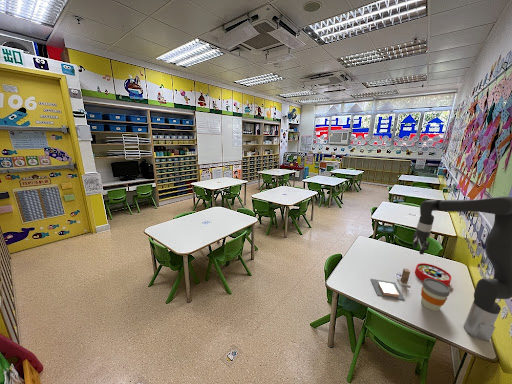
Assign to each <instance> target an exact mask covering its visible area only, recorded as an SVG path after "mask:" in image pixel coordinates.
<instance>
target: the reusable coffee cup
mask: <svg viewBox="0 0 512 384" xmlns="http://www.w3.org/2000/svg"><path fill="white" fill-rule="evenodd" d="M421 285H422V287H421V293H420V296H421V298H420V299H421V300H420V301H421V302H420V303H421V304H422V306H424V307H425V308H427V309H429V311H433V312H439V310H440V309H441V307H442V306H444V304H445V303H446V301H447V299H448V297H449V296H450V293H451V290H450V287H449V286H446V285H445V284H444V283H442V282H440V281H437V280H434V279H429V278H428V279H425V280H424V281H422V284H421Z"/></svg>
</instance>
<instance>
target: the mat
mask: <svg viewBox="0 0 512 384" xmlns="http://www.w3.org/2000/svg"><path fill="white" fill-rule="evenodd" d="M370 282H371V284H372V286H373V288H374V290H375V293H376V295H377V296H378V297H385V298H389V299H395V300H400V301H405V300H406V299H405V298H404V294H402V292H401V290H400V288H399V287H398V285H397V284H396V282H393V281H387V280H383V279H382V280H381V279H374V278H370ZM379 282H383V283H389V284H393V285H394V286H395V288H396V290H397V292H398V294H399V297H394V296H388V295H383V293H382V291H381V289H380V287H379V285H378V283H379Z"/></svg>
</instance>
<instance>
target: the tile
mask: <svg viewBox="0 0 512 384" xmlns="http://www.w3.org/2000/svg"><path fill="white" fill-rule="evenodd" d="M378 285H379V287H380V289H381V291H382V293H383V295H388V296H394V297H399V294H398V292H397V290H396V288H395V286H394V285H393V284H389V283H383V282H379V283H378Z"/></svg>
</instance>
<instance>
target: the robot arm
mask: <svg viewBox="0 0 512 384" xmlns="http://www.w3.org/2000/svg"><path fill="white" fill-rule="evenodd" d="M434 211H435V212H436V211H441V212H448V213H449V212H453V213H456V212H457V213H458V212H459V213H460V212H463V213H465V212H476V213H485V214H491V215H494V221H493V226H492V227H491V229H490V231H489V233H488V235H487V237H486V243H485V254H486V255H487V256H486V257H488V259H489V261H490V263H491V264H492V267H493V278H480V279H479V280H478V281H477V283H476V286H475V289H474V291H473V301H472V304H471V307H470V309H469V311H468V314H467V317H466V319H465V322H464V323H463V329H464V330H465V331H466V332H467V333H468V334H469V335H471V336H472V337H473V338H474V339H477V340H480V341H481V340H482V341H487V342H490V340H491V339H492V336H493V334H494V331H495V329H496V326H495V323H496V322H497V319H498V317H499V315H500V313H501V310H502V309H501V306H500V305H499V303H498V302H496V300H509V299H511V298H512V196H505V195H504V196H500V195H498V196H495V197H489V198H481V199H430V200H429V199H427V200H423V201H422V202H421V204H420V206H419V214H420V215H419V216H420V217H419V219H418V223H417V225H416V229H415V232H414V233H413V235H412V239H411V240H412V241H413V243H412V244H413V245H412V247H413V248H414V249H417V248H418V244H419V246H420V249H419V252H418V253H419V254H420V255H424V254H425V251H428V249H429V246H430V241H427V239H428V238H430V237H431V232H432V229H433V224H434V219H435V216H434V215H433V212H434Z"/></svg>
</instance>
